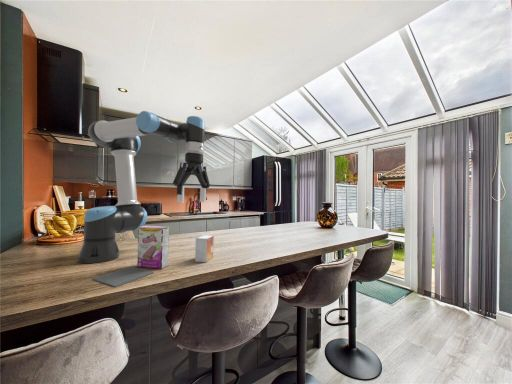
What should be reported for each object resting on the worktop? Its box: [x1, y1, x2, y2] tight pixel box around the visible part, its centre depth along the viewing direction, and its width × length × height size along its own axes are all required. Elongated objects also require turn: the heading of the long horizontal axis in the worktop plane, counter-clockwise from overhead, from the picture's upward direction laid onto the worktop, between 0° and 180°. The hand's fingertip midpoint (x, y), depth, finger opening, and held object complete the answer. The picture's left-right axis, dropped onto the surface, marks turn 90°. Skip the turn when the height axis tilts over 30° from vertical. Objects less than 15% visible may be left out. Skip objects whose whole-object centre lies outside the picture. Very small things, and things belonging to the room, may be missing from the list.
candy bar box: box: [136, 225, 170, 270], centre depth 89 cm, size 11×5×16 cm, turn 81°
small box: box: [194, 234, 215, 263], centre depth 100 cm, size 8×6×10 cm
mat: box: [92, 266, 154, 288], centre depth 78 cm, size 13×14×1 cm
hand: (192, 202), depth 93 cm, fingers open, 13 cm apart
